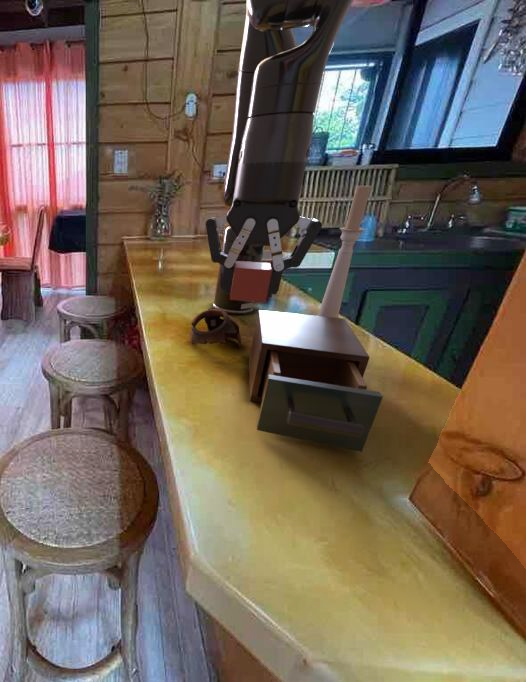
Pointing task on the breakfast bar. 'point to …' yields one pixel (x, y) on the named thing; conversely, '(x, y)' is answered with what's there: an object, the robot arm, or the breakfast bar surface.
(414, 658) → the breakfast bar surface
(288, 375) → the drawer
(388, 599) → the breakfast bar surface
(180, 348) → the breakfast bar surface
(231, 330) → the brown ring bracket
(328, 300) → the candlestick
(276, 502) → the breakfast bar surface
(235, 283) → the block
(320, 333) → the cabinet
